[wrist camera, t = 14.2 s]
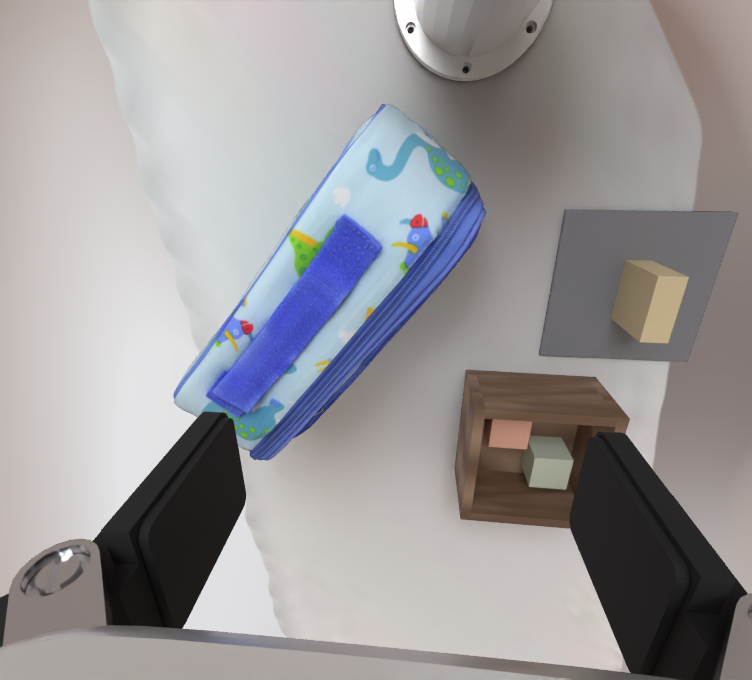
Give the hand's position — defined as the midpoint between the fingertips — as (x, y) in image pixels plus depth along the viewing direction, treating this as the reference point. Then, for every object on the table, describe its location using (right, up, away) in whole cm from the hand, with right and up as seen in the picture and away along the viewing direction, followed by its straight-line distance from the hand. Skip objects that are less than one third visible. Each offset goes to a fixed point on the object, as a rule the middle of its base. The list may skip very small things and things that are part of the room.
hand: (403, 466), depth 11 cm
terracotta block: (+14, -5, +36) cm, 39 cm away
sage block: (+19, -10, +38) cm, 43 cm away
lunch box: (-3, +12, +32) cm, 34 cm away
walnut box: (+16, -7, +38) cm, 42 cm away
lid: (+25, +9, +31) cm, 40 cm away
